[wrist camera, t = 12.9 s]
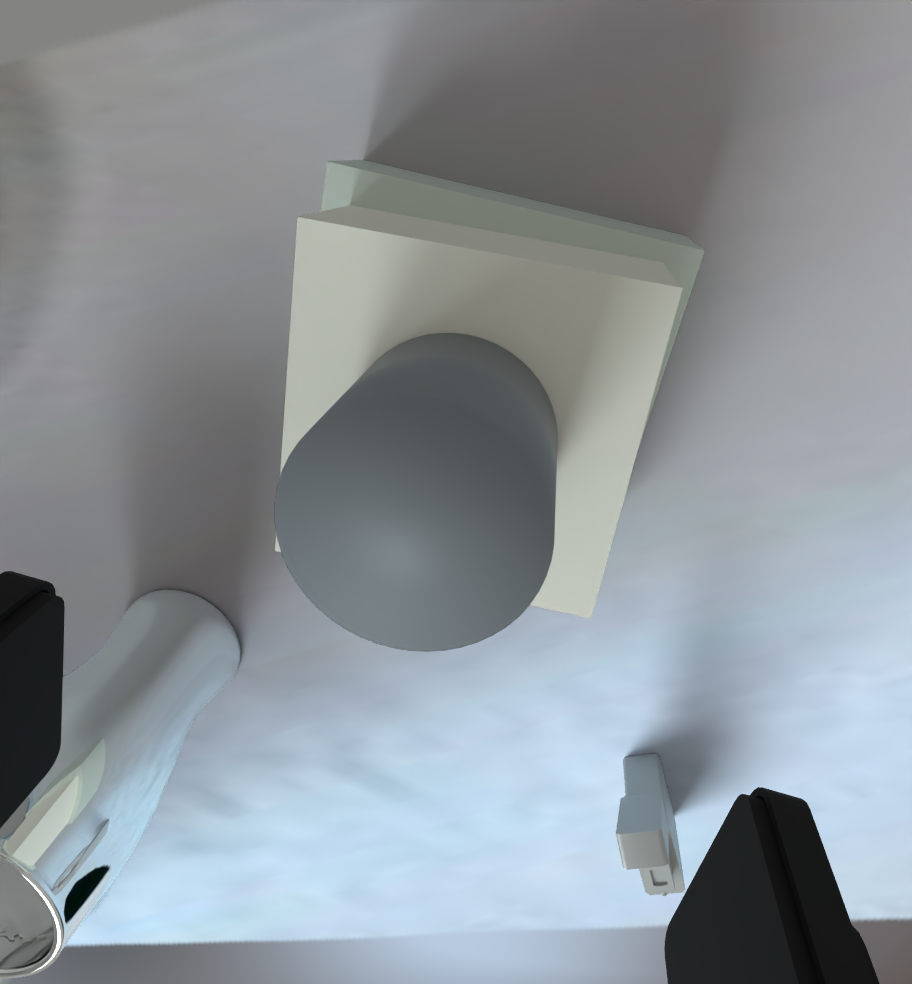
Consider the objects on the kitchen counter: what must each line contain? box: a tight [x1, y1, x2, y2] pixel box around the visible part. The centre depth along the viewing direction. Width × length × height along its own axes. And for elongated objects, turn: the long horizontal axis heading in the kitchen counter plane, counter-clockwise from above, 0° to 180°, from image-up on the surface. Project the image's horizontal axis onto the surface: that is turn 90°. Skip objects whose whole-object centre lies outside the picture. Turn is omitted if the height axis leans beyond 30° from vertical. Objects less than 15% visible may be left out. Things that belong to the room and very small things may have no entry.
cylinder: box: [274, 333, 558, 652], centre depth 19 cm, size 6×6×6 cm
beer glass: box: [0, 590, 240, 978], centre depth 32 cm, size 7×7×15 cm
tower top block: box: [275, 205, 683, 618], centre depth 24 cm, size 10×10×5 cm
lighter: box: [616, 753, 685, 896], centre depth 34 cm, size 7×2×8 cm, turn 17°
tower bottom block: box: [320, 160, 705, 452], centre depth 29 cm, size 12×12×5 cm
